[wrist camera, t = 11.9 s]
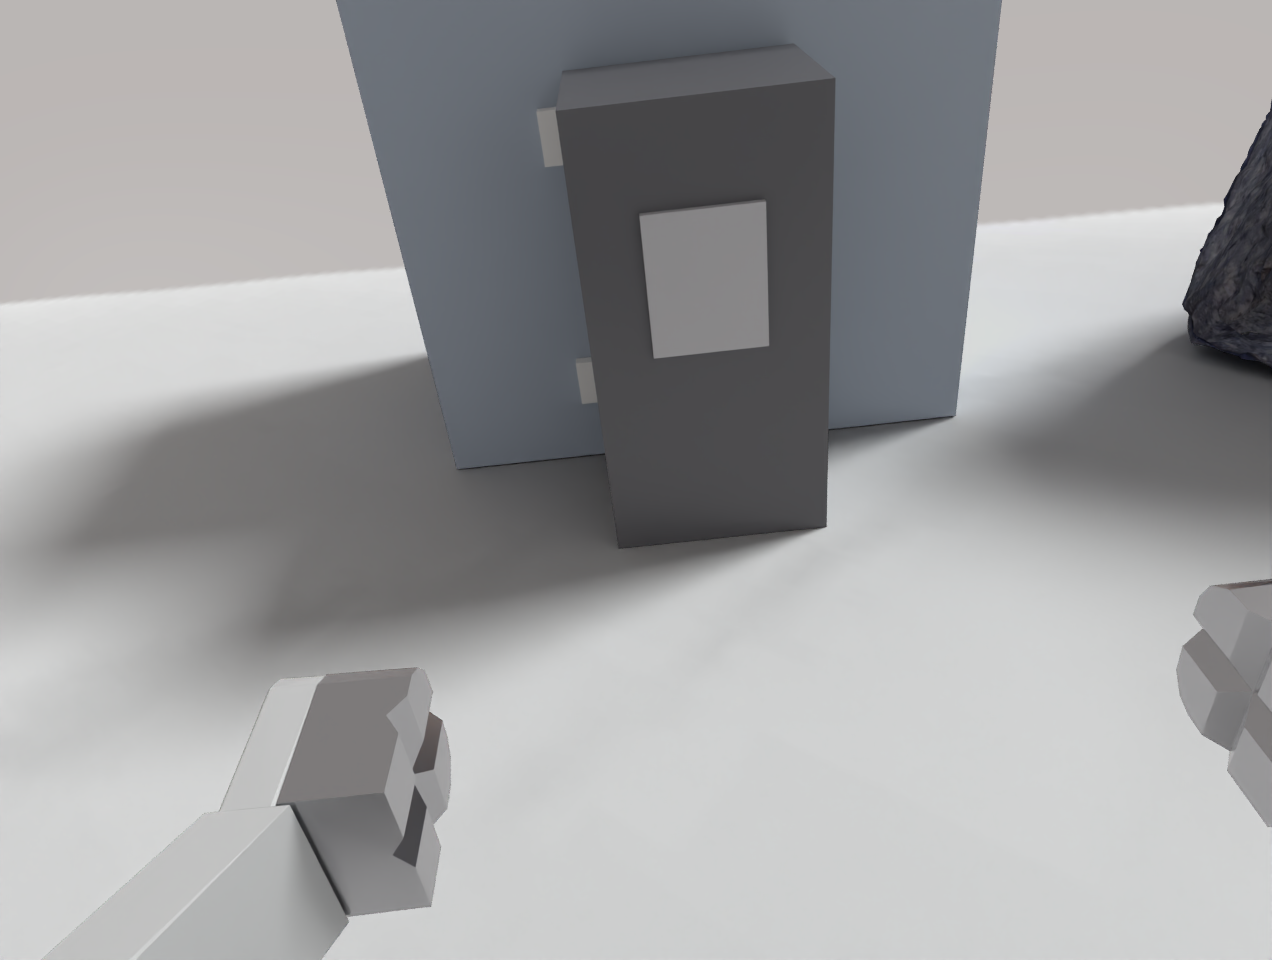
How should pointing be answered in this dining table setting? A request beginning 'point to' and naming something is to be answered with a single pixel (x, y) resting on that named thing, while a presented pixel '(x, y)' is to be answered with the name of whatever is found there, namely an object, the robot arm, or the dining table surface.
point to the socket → (540, 215)
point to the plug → (706, 285)
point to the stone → (1238, 264)
